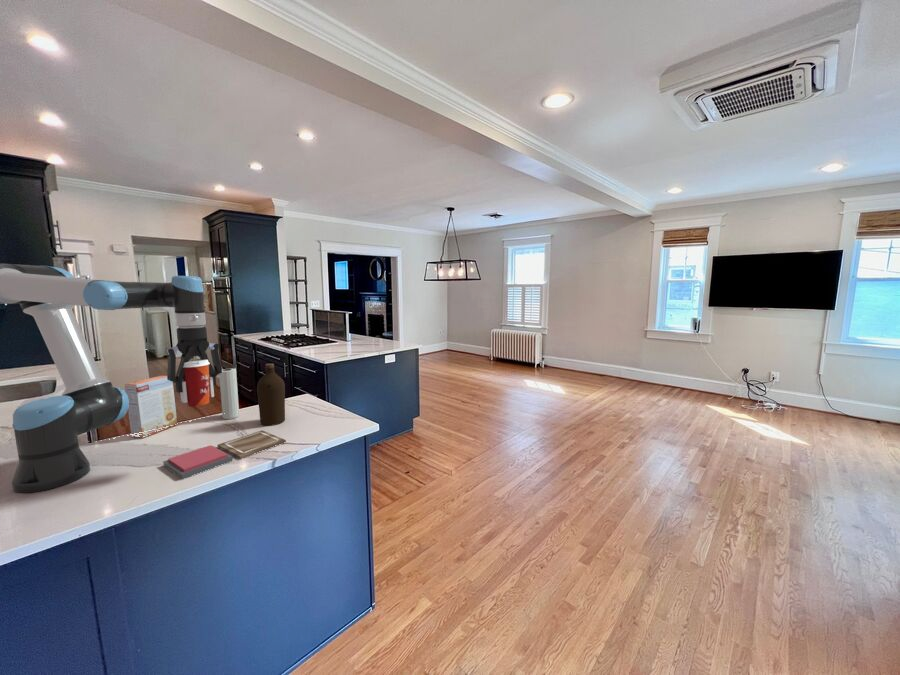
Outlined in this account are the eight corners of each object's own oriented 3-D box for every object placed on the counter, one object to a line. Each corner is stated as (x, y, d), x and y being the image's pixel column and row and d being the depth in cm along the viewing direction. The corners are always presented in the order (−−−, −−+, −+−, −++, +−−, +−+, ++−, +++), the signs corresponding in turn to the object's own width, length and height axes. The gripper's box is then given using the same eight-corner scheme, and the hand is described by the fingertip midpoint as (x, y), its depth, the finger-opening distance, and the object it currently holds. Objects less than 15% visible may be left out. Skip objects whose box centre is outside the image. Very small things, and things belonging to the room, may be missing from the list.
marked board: (217, 447, 126) (217, 444, 126) (262, 432, 139) (262, 429, 139) (240, 459, 117) (240, 455, 117) (285, 442, 130) (285, 439, 130)
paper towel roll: (225, 420, 152) (221, 371, 149) (220, 417, 156) (217, 369, 153) (243, 416, 157) (240, 369, 154) (239, 413, 161) (235, 367, 158)
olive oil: (291, 421, 152) (288, 363, 149) (265, 428, 144) (262, 367, 140) (279, 415, 158) (276, 360, 155) (254, 422, 150) (250, 364, 147)
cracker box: (166, 424, 147) (161, 374, 145) (178, 425, 146) (173, 375, 143) (129, 437, 134) (123, 383, 131) (142, 438, 133) (136, 384, 130)
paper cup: (213, 405, 111) (209, 361, 110) (182, 409, 107) (178, 364, 105) (213, 398, 118) (209, 357, 116) (184, 402, 114) (180, 359, 112)
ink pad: (163, 466, 112) (163, 459, 112) (212, 450, 124) (212, 443, 123) (182, 479, 105) (181, 471, 104) (232, 460, 116) (232, 453, 116)
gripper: (156, 330, 99) (164, 409, 102) (231, 325, 115) (236, 393, 118) (147, 328, 103) (155, 404, 106) (220, 323, 120) (226, 390, 122)
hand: (198, 398), depth 112 cm, fingers closed on paper cup, 7 cm apart
